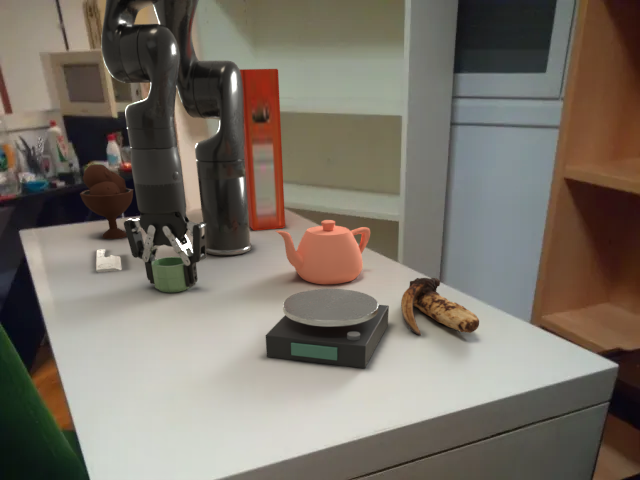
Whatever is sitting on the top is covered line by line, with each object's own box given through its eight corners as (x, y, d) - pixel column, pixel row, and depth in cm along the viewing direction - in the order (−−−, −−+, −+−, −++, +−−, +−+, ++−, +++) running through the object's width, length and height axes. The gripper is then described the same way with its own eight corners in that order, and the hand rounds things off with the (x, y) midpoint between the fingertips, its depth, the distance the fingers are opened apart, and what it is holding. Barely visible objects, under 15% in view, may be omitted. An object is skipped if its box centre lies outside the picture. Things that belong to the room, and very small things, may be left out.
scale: (302, 316, 89) (301, 293, 87) (387, 325, 85) (389, 301, 84) (265, 357, 76) (264, 331, 74) (364, 369, 73) (365, 342, 71)
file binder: (251, 230, 137) (241, 68, 120) (237, 215, 151) (226, 69, 134) (285, 228, 139) (279, 68, 122) (268, 213, 153) (261, 69, 137)
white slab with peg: (122, 252, 123) (122, 246, 123) (124, 272, 111) (124, 266, 110) (97, 253, 122) (96, 248, 121) (96, 274, 110) (95, 268, 109)
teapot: (384, 278, 105) (387, 222, 100) (290, 293, 98) (288, 234, 93) (352, 261, 114) (353, 210, 109) (265, 273, 108) (262, 219, 103)
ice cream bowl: (126, 242, 128) (113, 167, 120) (79, 240, 130) (63, 166, 122) (148, 231, 137) (137, 160, 129) (104, 229, 139) (90, 160, 131)
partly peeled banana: (375, 307, 93) (431, 348, 78) (375, 278, 91) (433, 314, 76) (428, 298, 95) (492, 336, 81) (429, 269, 93) (496, 303, 78)
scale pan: (300, 290, 85) (300, 285, 85) (386, 298, 82) (386, 292, 82) (269, 321, 75) (269, 315, 75) (366, 331, 72) (366, 325, 72)
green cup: (166, 281, 104) (162, 255, 102) (198, 283, 103) (195, 257, 101) (148, 291, 99) (144, 265, 97) (181, 294, 98) (177, 267, 96)
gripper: (211, 176, 93) (220, 281, 102) (131, 173, 97) (147, 274, 106) (188, 184, 87) (201, 294, 96) (104, 180, 91) (123, 287, 99)
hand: (172, 284), depth 101 cm, fingers closed on green cup, 6 cm apart
